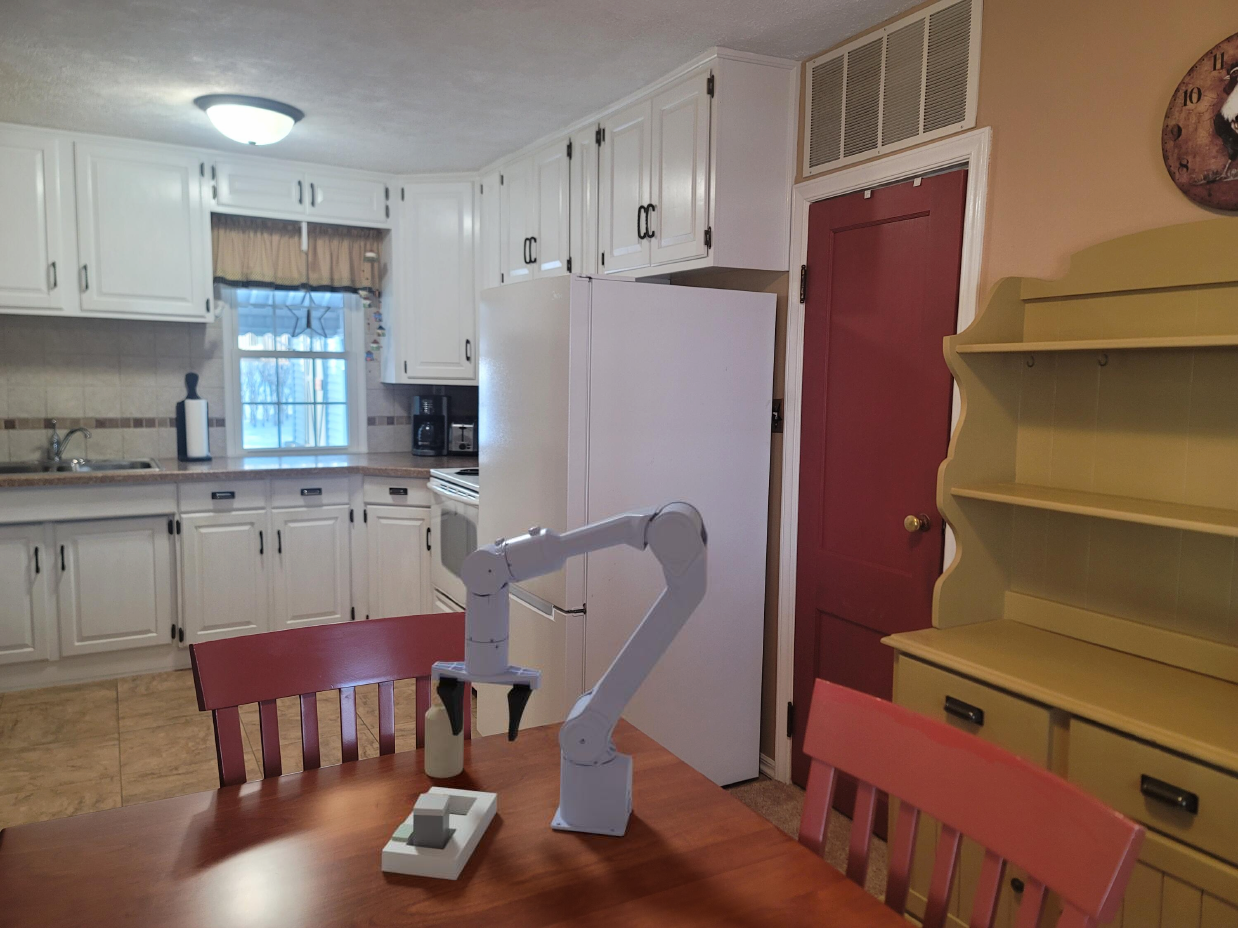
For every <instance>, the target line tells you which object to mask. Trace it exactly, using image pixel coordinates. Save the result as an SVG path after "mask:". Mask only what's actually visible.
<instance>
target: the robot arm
mask: <svg viewBox="0 0 1238 928" xmlns="http://www.w3.org/2000/svg"><path fill="white" fill-rule="evenodd" d="M660 506H661V504H654V505H650V506H645V507H641V508H637V509H633V510H629V511H625V512H623V513H619V514H616V515H613V516H610V517H608V518H605V519H602V520H598V521H595V522H592V523H591V524H587V525H584V526H582V527H579V528H576V529H572V530H569V531H566V532H563V533H562V532H559V531H557V530H555V529H553V528H551V527H545V528H541V526H540V525H536V526H533V527H530V528H529V529H528V530H527V531H528V533H525V534H522V535H519V536H515V537H512V538H509V539H506V540H505V537H501V538H497V539H496V540H494V543H487V544H484V545H483V546H481V547H479V548H478V549H476V550H475V551H473V552H472V553H470V554H468V555H467V556H466V557H465V559H464V560H463V562H462V564H461V567H460V580H461V582H462V584H463V585H464V587H466V591H465V593H466V594H465V595H466V598H465V615H464V616H465V619H464V620H465V621H464V622H465V624H464V626H465V627H464V628H465V630H464V634H465V635H464V636H465V637H464V661H436V662H434V664H432V665H431V678H430V679H431V681H436V682H438V685H437V686H436V688H435V689H436V690H435V691H436V694H437V696H438V697H439V698H440V701H442V702H443V704H444V706H445V709H446V711H447V714H448V717H449V720H450V724H451V728H452V734H453V735H454V736H458V735H459V733H460V732H461V731H462V729H463V712H464V696H465V689H466V682H467V683H479V684H489V685H490V684H491V685H500V686H501V685H502V686H511V687H512V688H511V689H510V690H509V692H507V695H506V697H507V705H508V718H509V719H508V732H507V739H508V742H514V741H516V739H517V737H518V735H519V728H520V725H521V719H522V717H523V714H524V712H525V709H526V706H527V704H528V701H529V699H530V697H531V695H532V693H533V690H534V691H539V689H540V688H541V685H542V673H543V671H542V670H535V669H530V668H526V667H522V666H517V665H513V664H509V656H510V655H509V652H510V650H509V647H510V646H509V645H510V642H509V641H510V606H511V601H510V583H512V584H519V583H522V582H525V581H528V580H531V579H532V580H533V579H535V578H539V577H542V576H546V575H548V574H552V573H555V572H558V571H559V572H560V571H561V570H562V569H563V568H564V566H565V564H566V562H567V560H568V558H571V557H575V556H580V555H583V554H587V553H591V552H595V551H599V550H603V549H607V548H612V547H614V546H618V545H625V544H626V546H627V545H628V546H629V547H632V548H634V549H636V550H638V551H642V552H645V550H646V549H647V547H648V546H649V548H650V550H651V552H652V554H653V555H654V557H655V558H656V560H658V562H659V563H660V565H661V567H662V571H663V576H664V581H665V584H666V587H665V588H664V590H663V591H662V592H661V594H660V595H659V597H658V598H657V600H656V601H655V602H654V604H653V605H652V607H650V610H649V611H648V612H647V614H646V615H645V617H644V618H643V620H641V622H640V624H639V625H638V626H637V628H636V629H635V630H634V632H633V634H632V635H631V636H630V638H629V639H628V641H627V642H626V644H625V645H624V646H623V648H622V649H621V650H620V652H619V653H618V655H617V656H616V657H615V659H614V660H613V662H612V663H611V664H610V666H609V667H608V669H607V671H605V673H604V675H603V676H602V677H601V678H600V679H599V680H598V682H596V684H595V686H594V687H593V688H591V690H589V691H587V692H585V693H583V694H581V695H579V697H577V699H575V701H574V704H573V706H572V709H571V711H570V713H569V715H568V717H567V719H566V721H564V723H563V724H562V725H561V727H560V729H559V732H558V743H559V748H560V749H561V751H560V784H559V785H560V786H559V788H560V791H559V805H558V807H557V809H556V812H555V815H554V817H553V818H552V822H551V824H550V827H551V829H556V830H565V831H573V832H582V833H583V832H584V833H591V834H600V835H608V836H619V837H622V836H624V835H625V833H626V829H627V825H628V822H629V818H630V815H631V813H632V808H633V798H632V795H633V793H632V792H633V763H634V762H633V757H632V756H631V755H628V754H623V753H622V752H619V751H617V746H616V744H615V742H614V740H613V738H612V737H611V736H612V734H613V731H614V729H615V727H616V726H617V723H618V721H619V719H620V718H621V716H622V714H623V712H624V711H625V709H626V707H627V706H628V705H629V703H630V701H631V700H632V699H633V697H634V696H635V694H636V693H637V691H638V690H639V689H640V687H641V686H642V684H643V683H644V682H645V681H646V679H647V677H648V676H649V675H650V674H651V672H652V671H653V669H654V668H655V666H657V663H658V662H659V661H660V660H661V658H662V657H663V655H664V654H665V652H667V650H668V649H669V647H670V645H671V644H672V643H673V642H674V640H675V638H676V637H677V635H679V633H680V631H681V630H682V629H683V627H684V626H685V625H686V623H687V621H688V620H689V619H690V618H691V616H692V615H693V614H694V612H695V611H696V610H697V608H698V606H699V605H700V604H701V603H702V601H703V600H704V597H705V596H706V594H707V588H708V544H709V543H708V541H709V540H708V539H709V538H708V537H709V533H708V532H707V531H708V530H707V528H706V525H705V521H704V519H703V517H702V515H701V513H700V511H699V510H698V509H697V507H696V506H694V505H693V504H691V503H689V502H687V501H683V500H673V501H670V502H668V503H666V504H665V505H664V506H662V507H661V508H660ZM659 508H660V509H659ZM658 509H659V510H658ZM657 511H658V512H657Z"/></svg>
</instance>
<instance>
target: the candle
mask: <svg viewBox="0 0 1238 928" xmlns="http://www.w3.org/2000/svg"><path fill="white" fill-rule="evenodd" d="M464 720H465V713H464V711H463V729H462V731H461V732H460V733H459V735H458V736H454V735H453V734H452V728H451V724H450V720H449V717H448V714H447V711H446V709H445V706H444V704H443V702H442V700H440V702H435V703H433V705H432V706H431V707H430V708H428V710H427V711H426V712H425V714H424V771H425V774H426V775H427V776H429V777H432V778H436V779H447V778H452V777H455V776H458V775H459V774H461V772H462V771H463V769H464V735H465V734H464V725H465V723H464V722H465V721H464Z"/></svg>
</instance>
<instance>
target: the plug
mask: <svg viewBox="0 0 1238 928" xmlns="http://www.w3.org/2000/svg"><path fill="white" fill-rule="evenodd" d="M449 805H450V795H438V794H425V793H420V795H419V796H418V798H417V801H416V802H415V804H414V806H413V807H412V809H413V810H412V812H413V846H416V847H425V848H433V849H442V850H444V848H445V847H446V845H447V844H448V842H449V814H450V813H449Z"/></svg>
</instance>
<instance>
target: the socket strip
mask: <svg viewBox="0 0 1238 928" xmlns="http://www.w3.org/2000/svg"><path fill="white" fill-rule="evenodd" d="M424 794H438V795H450V805H449V842H448V844H447V845H446V847H445V848H444V850H442V849H433V848H425V847H416V846H413V811H412V812H411V813H410V814H409V815H408V816H407V818H406V819H405V821H404V822H403V823H401V824H400V825H399V826H398V828H397V829H396V830H395V831H394V833H393V834H392V835H391V839H390V840H389V841H388V842H387V844H386V845H385V846H384V847H383V848H382V850H381V872H388V873H395V874H404V875H411V876H419V877H427V878H435V879H445V880H451V881H457V879H458V878H459V876H460V875H461V873H462V872H463V869H464V868H465V866H466V865H467V863H468V861H469V859H470V857H471V856H472V854H473V852H474V851H475V849H476V847H477V845H479V842H480V841H481V839H482V837H483V836H484V835H485V832H486V830H487V829H488V827H489V826H490V824H491V822H492V820H493V819H494V817H495V815H496V813H497V811H498V810H497V809H498V807H497V806H498V793H497V792H496V793H495V792H486V791H485V792H483V791H477V790H475V791H474V790H466V789H457V788H448V787H438V786H431V787H430V789H429V790H428V791H427V792H424Z"/></svg>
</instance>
